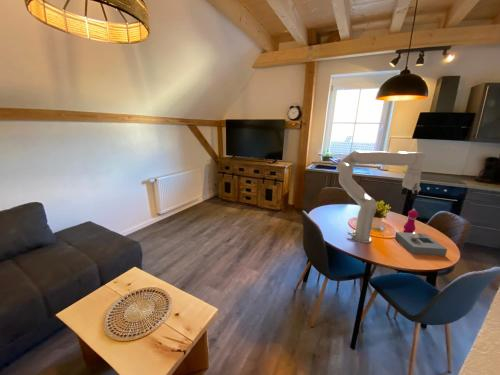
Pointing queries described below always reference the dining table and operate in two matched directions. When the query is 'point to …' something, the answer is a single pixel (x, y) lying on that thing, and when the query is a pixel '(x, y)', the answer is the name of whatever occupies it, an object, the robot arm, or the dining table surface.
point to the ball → (414, 236)
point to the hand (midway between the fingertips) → (408, 196)
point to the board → (421, 244)
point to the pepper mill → (410, 222)
